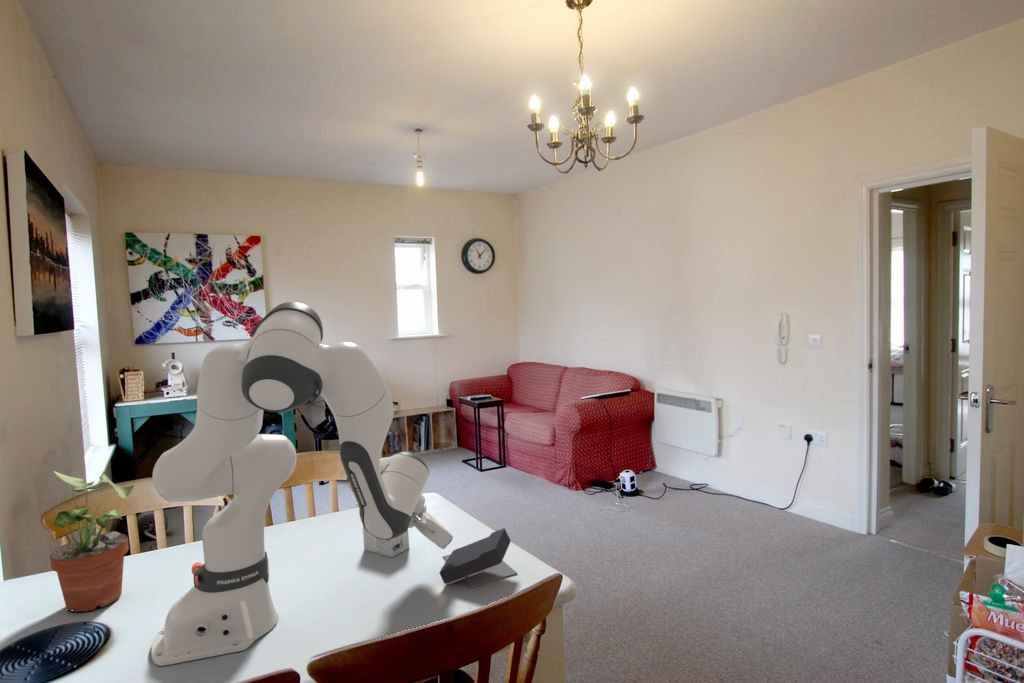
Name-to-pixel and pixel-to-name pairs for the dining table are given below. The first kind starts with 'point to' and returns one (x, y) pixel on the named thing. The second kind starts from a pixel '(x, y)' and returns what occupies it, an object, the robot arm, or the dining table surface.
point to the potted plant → (90, 554)
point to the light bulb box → (386, 544)
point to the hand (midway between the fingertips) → (448, 539)
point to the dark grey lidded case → (475, 557)
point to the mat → (489, 574)
